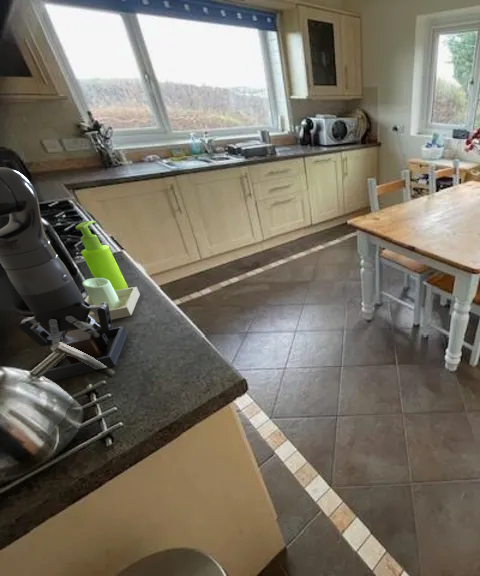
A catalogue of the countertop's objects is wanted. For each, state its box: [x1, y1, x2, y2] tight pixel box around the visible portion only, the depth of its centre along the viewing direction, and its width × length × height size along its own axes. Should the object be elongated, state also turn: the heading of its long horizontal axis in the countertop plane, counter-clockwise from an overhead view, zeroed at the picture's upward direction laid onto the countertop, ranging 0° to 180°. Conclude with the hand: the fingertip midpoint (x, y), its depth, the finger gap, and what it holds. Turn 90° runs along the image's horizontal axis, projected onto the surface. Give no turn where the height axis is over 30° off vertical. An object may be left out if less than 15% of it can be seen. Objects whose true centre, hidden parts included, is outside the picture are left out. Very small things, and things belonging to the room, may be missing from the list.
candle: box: [81, 277, 121, 310], centre depth 83 cm, size 5×5×8 cm
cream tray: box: [83, 286, 141, 324], centre depth 85 cm, size 11×11×3 cm
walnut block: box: [61, 328, 103, 364], centre depth 68 cm, size 5×5×5 cm
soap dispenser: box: [74, 220, 129, 291], centre depth 89 cm, size 6×7×20 cm
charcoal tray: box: [44, 325, 128, 382], centre depth 69 cm, size 11×11×3 cm
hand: (88, 352), depth 69 cm, fingers closed on walnut block, 5 cm apart
